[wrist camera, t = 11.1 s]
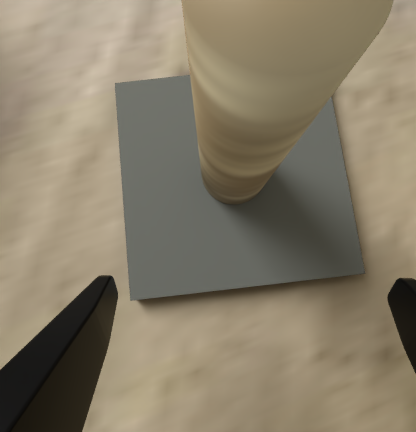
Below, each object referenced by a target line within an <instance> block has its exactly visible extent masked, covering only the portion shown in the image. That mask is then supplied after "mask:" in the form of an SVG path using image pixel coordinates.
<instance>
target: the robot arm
mask: <svg viewBox="0 0 416 432" xmlns="http://www.w3.org/2000/svg"><path fill="white" fill-rule="evenodd" d="M117 300H118V291H117V288H116V285H115V281H114V278H113V277H112V276H110V275H101V276H98V277H97V278H96V279H95V280H94V281H93V282H92V283H91V284H90V285H89V286H87V287H86V288H85V289H84V290H83V291H82V292H81V293H80V294H79V295H78V296H77V297H76V298H75V299H74V300H73V301H72V302H71V303H70V304H69V305H68V306H67V307H66V308H64V309H63V310H62V311H61V312H60V313H59V314H58V315H57V316H56V317H55V318H54V319H53V320H52V321H51V322H50V323H49V324H48V325H47V326H46V327H45V328H44V329H43V330H41V331H40V332H39V333H38V334H37V335H36V336H35V337H34V338H33V339H32V340H31V341H30V342H29V343H28V344H27V345H26V346H25V347H24V348H23V349H22V350H21V351H19V352H18V353H17V354H16V355H15V356H14V357H13V358H12V359H11V360H10V361H9V362H8V363H7V364H6V365H5V366H4V367H3V368H2V369H1V370H0V432H82V430H83V427H84V424H85V420H86V417H87V414H88V411H89V408H90V404H91V401H92V398H93V395H94V391H95V388H96V385H97V382H98V379H99V375H100V372H101V369H102V366H103V362H104V359H105V356H106V353H107V349H108V346H109V341H110V336H111V331H112V326H113V321H114V315H115V310H116V305H117ZM388 303H389V306H390V309H391V312H392V315H393V318H394V321H395V324H396V327H397V330H398V332H399V335H400V338H401V341H402V344H403V346H404V349H405V351H406V354H407V356H408V358H409V360H410V362H411V365H412V367H413V369H414V371H415V373H416V280H415V279H412V278H399V279H397V280H396V282H395V283H394V285H393V287H392V288H391V290H390V292H389V294H388Z"/></svg>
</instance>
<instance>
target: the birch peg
mask: <svg viewBox="0 0 416 432" xmlns="http://www.w3.org/2000/svg"><path fill="white" fill-rule="evenodd" d="M392 4H393V0H182V8H183V17H184V26H185V35H186V43H187V52H188V61H189V70H190V78H191V87H192V96H193V105H194V114H195V122H196V131H197V140H198V149H199V157H200V166H201V175H202V181H203V184H204V186H205V188H206V190H207V191H208V193H209V194H210V195H211V196H212V197H213V198H215V199H216V200H218V201H220V202H222V203H225V204H232V205H235V204H242V203H245V202H248V201H249V200H251V199H253V198H254V197H255V196H256V195H257V194H258V193H259V192H260V190H261V189H262V188H263V186H264V185H265V184H266V182H267V181H268V180H269V178H270V177H271V176H272V174H273V173H274V172H275V171H276V169H277V168H278V167H279V165H280V164H281V163H282V161H283V160H284V159H285V157H286V156H287V155H288V153H289V152H290V151H291V149H292V148H293V147H294V145H295V144H296V143H297V141H298V140H299V139H300V137H301V136H302V135H303V133H304V132H305V131H306V129H307V128H308V127H309V125H310V124H311V123H312V121H313V120H314V119H315V117H316V116H317V115H318V113H319V112H320V111H321V109H322V108H323V107H324V105H325V104H326V103H327V101H328V100H329V99H330V97H331V96H332V95H333V93H334V92H335V91H336V89H337V88H338V87H339V85H340V84H341V83H342V81H343V80H344V79H345V77H346V76H347V75H348V73H349V72H350V71H351V69H352V68H353V67H354V65H355V64H356V63H357V61H358V60H359V59H360V57H361V56H362V55H363V53H364V52H365V51H366V49H367V48H368V47H369V45H370V44H371V43H372V42H373V40H374V39H375V38H376V36H377V35H378V34H379V32H380V30H381V29H382V27H383V26H384V24H385V22H386V20H387V18H388V16H389V13H390V11H391V8H392Z"/></svg>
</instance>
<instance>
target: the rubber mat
mask: <svg viewBox="0 0 416 432" xmlns="http://www.w3.org/2000/svg"><path fill="white" fill-rule="evenodd" d="M115 92H116V106H117V120H118V134H119V148H120V162H121V176H122V190H123V204H124V218H125V232H126V246H127V260H128V274H129V288H130V301H132V300H140V299H149V298H157V297H166V296H175V295H183V294H192V293H201V292H209V291H218V290H227V289H235V288H244V287H253V286H261V285H270V284H279V283H287V282H296V281H305V280H313V279H322V278H331V277H339V276H348V275H357V274H365V270H364V265H363V259H362V254H361V249H360V244H359V238H358V233H357V228H356V223H355V217H354V212H353V207H352V201H351V196H350V191H349V186H348V180H347V175H346V170H345V165H344V159H343V154H342V149H341V144H340V138H339V133H338V128H337V123H336V117H335V112H334V107H333V101H332V96H331V97H330V99H329V100H328V101H327V103H326V104H325V105H324V107H323V108H322V109H321V111H320V112H319V113H318V115H317V116H316V117H315V119H314V120H313V121H312V123H311V124H310V125H309V127H308V128H307V129H306V131H305V132H304V133H303V135H302V136H301V137H300V139H299V140H298V141H297V143H296V144H295V145H294V147H293V148H292V149H291V151H290V152H289V153H288V155H287V156H286V157H285V159H284V160H283V161H282V163H281V164H280V165H279V167H278V168H277V169H276V171H275V172H274V173H273V174H272V176H271V177H270V178H269V180H268V181H267V182H266V184H265V185H264V186H263V188H262V189H261V190H260V192H259V193H258V194H257V195H256V196H255V197H254V198H253V199H251V200H249V201H248V202H245V203H242V204H235V205H232V204H225V203H222V202H220V201H218V200H216V199H215V198H213V197H212V196H211V195H210V194H209V193H208V191H207V190H206V188H205V186H204V184H203V181H202V175H201V166H200V157H199V149H198V140H197V131H196V122H195V114H194V105H193V96H192V87H191V78H190V75H186V76H176V77H167V78H158V79H149V80H140V81H131V82H122V83H115Z"/></svg>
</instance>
